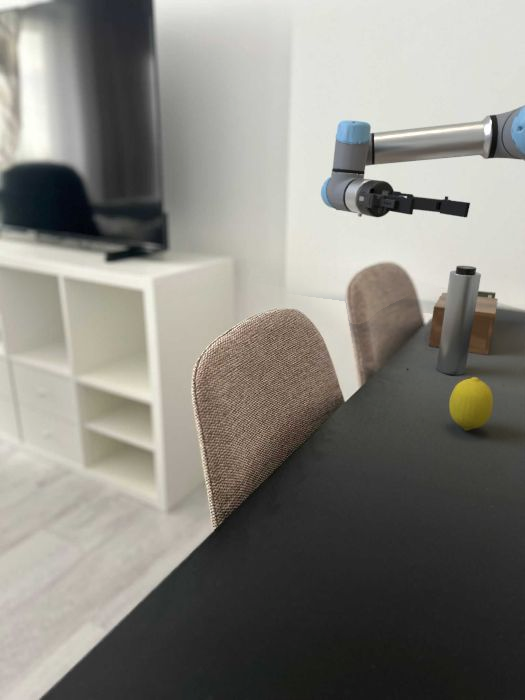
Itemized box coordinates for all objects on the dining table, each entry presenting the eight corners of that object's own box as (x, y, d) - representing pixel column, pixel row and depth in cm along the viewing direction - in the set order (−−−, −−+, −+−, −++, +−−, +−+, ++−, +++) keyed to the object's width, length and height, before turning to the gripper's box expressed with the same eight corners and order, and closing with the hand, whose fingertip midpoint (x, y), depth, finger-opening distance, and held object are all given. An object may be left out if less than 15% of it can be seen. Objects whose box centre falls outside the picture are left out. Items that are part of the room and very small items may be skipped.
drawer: (446, 313, 130) (450, 286, 128) (491, 318, 126) (495, 291, 124) (439, 327, 117) (443, 298, 115) (488, 334, 113) (493, 304, 111)
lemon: (438, 429, 72) (446, 376, 69) (456, 417, 76) (464, 367, 73) (477, 444, 68) (487, 389, 66) (494, 430, 72) (504, 378, 69)
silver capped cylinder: (451, 364, 97) (466, 264, 91) (471, 373, 93) (488, 268, 87) (430, 367, 95) (444, 265, 89) (449, 376, 91) (466, 270, 85)
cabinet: (437, 328, 120) (442, 292, 117) (491, 335, 115) (497, 298, 112) (428, 346, 107) (433, 306, 104) (488, 355, 103) (495, 313, 100)
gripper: (411, 217, 119) (483, 230, 101) (319, 213, 108) (383, 227, 90) (417, 183, 116) (492, 191, 98) (324, 175, 105) (390, 182, 88)
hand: (440, 208), depth 94 cm, fingers open, 13 cm apart
